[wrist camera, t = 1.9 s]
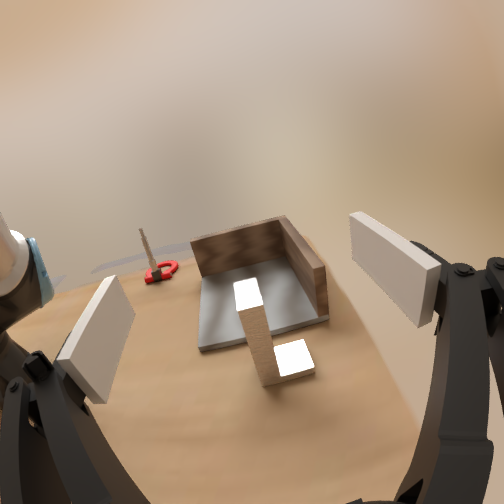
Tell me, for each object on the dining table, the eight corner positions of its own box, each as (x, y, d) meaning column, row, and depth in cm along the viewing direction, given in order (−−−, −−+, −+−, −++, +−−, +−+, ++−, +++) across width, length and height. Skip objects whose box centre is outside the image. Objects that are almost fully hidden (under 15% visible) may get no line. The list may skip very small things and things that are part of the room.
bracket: (262, 386, 29) (237, 310, 24) (256, 357, 34) (233, 282, 29) (314, 372, 29) (305, 293, 24) (304, 345, 34) (292, 267, 29)
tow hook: (151, 268, 68) (142, 285, 60) (135, 222, 63) (122, 234, 55) (181, 261, 68) (175, 278, 60) (165, 213, 63) (156, 224, 55)
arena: (200, 352, 37) (177, 302, 33) (203, 277, 57) (190, 239, 53) (329, 319, 37) (324, 265, 33) (291, 255, 57) (284, 215, 53)
